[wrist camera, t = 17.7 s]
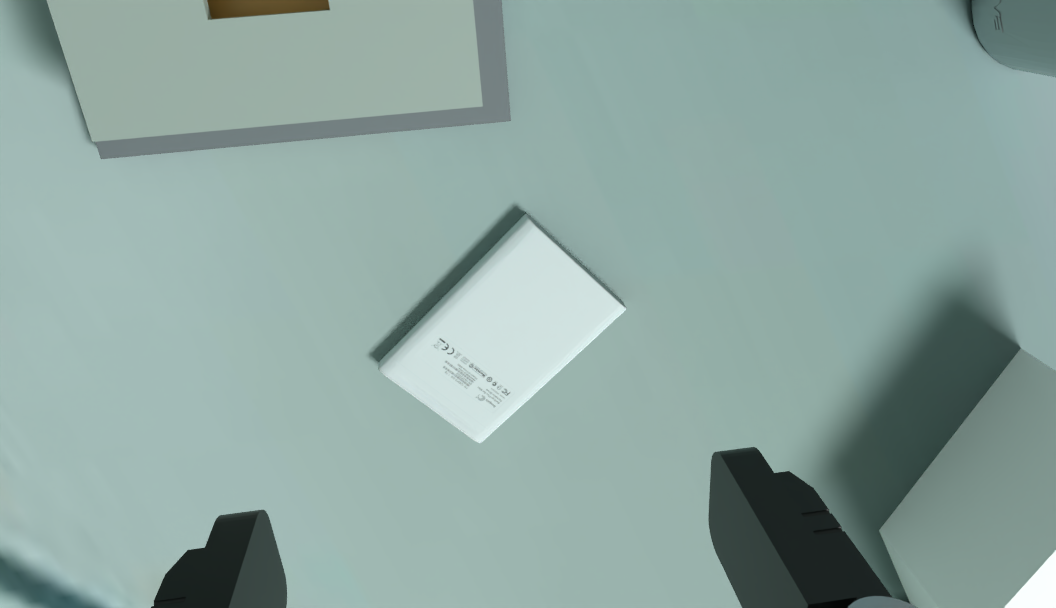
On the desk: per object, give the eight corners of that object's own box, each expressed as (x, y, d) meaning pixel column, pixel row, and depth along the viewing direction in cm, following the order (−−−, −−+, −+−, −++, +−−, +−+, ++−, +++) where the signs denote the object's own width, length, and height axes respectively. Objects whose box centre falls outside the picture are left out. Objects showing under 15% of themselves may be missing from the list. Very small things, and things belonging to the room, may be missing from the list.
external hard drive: (621, 298, 44) (479, 431, 47) (524, 209, 41) (378, 357, 44) (628, 310, 43) (480, 447, 45) (528, 218, 40) (376, 371, 42)
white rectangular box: (1120, 337, 49) (1278, 425, 40) (1013, 644, 62) (1115, 764, 52) (915, 356, 48) (1030, 451, 39) (848, 665, 60) (923, 793, 51)
